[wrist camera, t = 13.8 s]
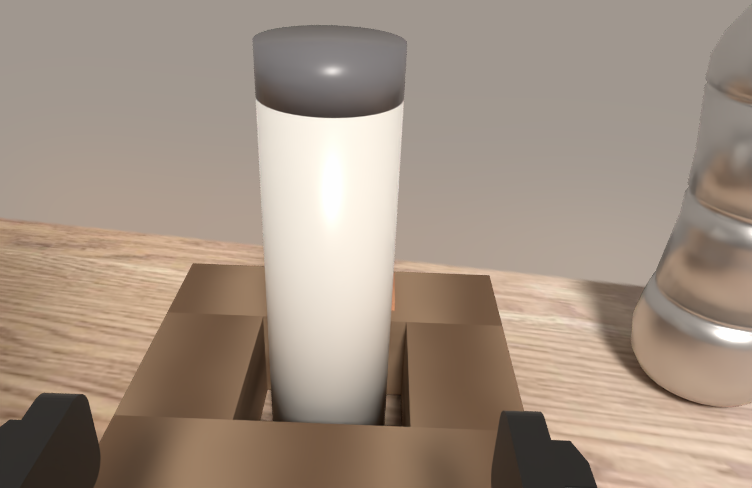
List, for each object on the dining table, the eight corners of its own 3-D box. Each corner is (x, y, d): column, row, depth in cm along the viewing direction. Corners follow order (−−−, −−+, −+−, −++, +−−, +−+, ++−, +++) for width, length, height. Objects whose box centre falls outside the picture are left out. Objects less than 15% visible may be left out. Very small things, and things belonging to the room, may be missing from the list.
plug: (265, 486, 24) (238, 53, 17) (282, 404, 28) (266, 22, 20) (382, 491, 24) (409, 61, 17) (383, 409, 28) (405, 28, 20)
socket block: (86, 602, 20) (58, 506, 18) (200, 332, 32) (192, 256, 30) (533, 619, 20) (558, 526, 18) (479, 343, 32) (490, 268, 30)
